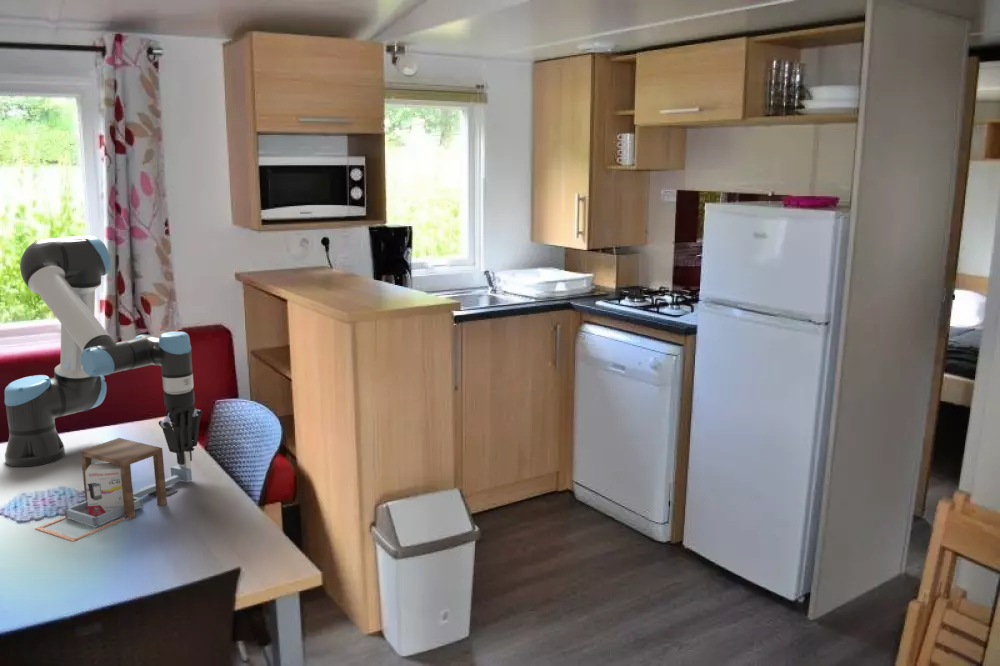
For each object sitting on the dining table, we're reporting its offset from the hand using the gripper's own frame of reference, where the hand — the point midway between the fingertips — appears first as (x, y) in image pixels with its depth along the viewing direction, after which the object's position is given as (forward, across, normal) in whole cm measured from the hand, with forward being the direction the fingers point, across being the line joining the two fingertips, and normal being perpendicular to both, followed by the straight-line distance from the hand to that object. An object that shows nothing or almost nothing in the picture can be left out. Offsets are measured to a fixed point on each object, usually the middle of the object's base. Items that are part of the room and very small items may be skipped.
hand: (185, 474), depth 222 cm
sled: (+1, -16, 0) cm, 16 cm away
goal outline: (+2, -31, 0) cm, 31 cm away
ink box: (+2, -23, 0) cm, 23 cm away
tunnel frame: (+2, -19, 0) cm, 19 cm away
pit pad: (+2, -9, 0) cm, 10 cm away
